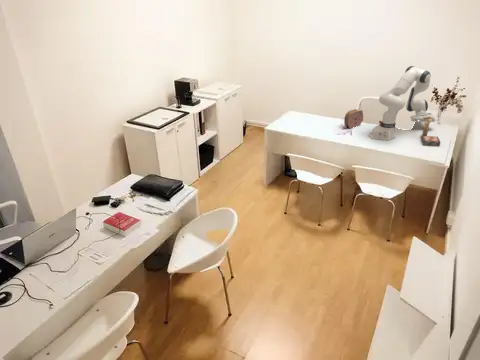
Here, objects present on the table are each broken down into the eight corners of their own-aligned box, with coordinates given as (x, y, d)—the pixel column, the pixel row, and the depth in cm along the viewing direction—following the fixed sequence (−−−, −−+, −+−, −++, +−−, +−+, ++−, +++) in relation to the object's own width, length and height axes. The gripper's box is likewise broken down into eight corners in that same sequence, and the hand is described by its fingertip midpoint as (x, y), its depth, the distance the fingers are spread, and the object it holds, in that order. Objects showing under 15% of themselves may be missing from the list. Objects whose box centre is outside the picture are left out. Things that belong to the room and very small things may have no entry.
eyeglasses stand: (419, 138, 321) (423, 118, 311) (418, 135, 327) (422, 115, 317) (429, 139, 319) (433, 118, 309) (428, 136, 325) (432, 115, 315)
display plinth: (422, 145, 309) (423, 141, 307) (420, 140, 319) (421, 135, 317) (439, 146, 305) (440, 141, 303) (436, 140, 315) (437, 136, 313)
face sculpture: (348, 129, 350) (349, 113, 342) (343, 127, 355) (344, 111, 347) (362, 125, 358) (364, 109, 350) (357, 123, 363) (359, 107, 355)
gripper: (410, 113, 340) (412, 118, 329) (434, 113, 335) (437, 118, 323) (409, 119, 343) (411, 124, 332) (432, 120, 338) (435, 125, 326)
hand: (424, 121), depth 328 cm, fingers open, 8 cm apart
